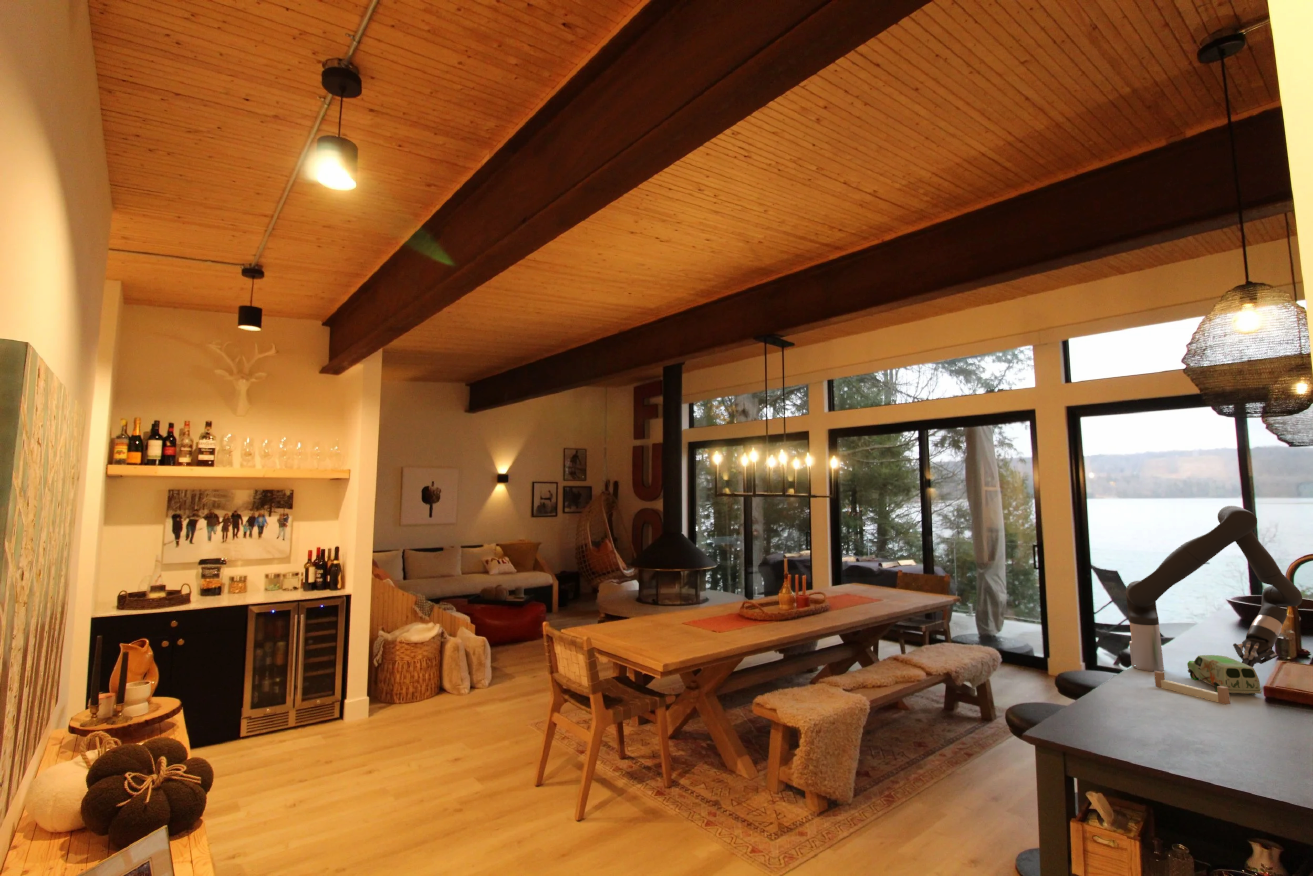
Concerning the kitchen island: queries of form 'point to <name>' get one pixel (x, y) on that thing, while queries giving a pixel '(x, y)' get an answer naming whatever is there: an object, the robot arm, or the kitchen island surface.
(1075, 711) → the kitchen island surface
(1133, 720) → the kitchen island surface
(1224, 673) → the toy car
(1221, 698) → the rail
